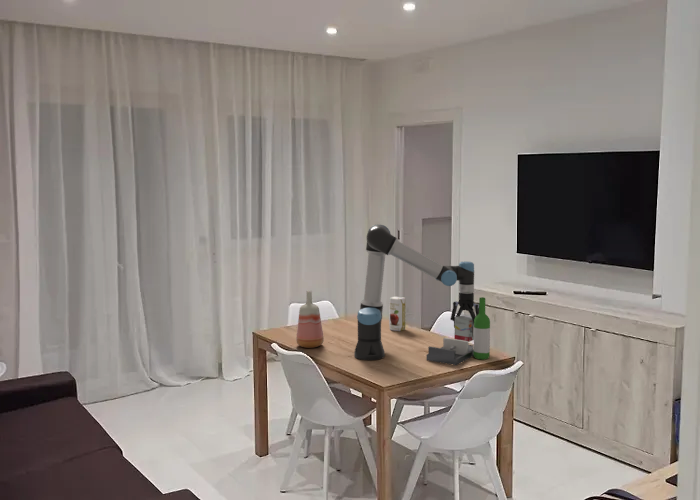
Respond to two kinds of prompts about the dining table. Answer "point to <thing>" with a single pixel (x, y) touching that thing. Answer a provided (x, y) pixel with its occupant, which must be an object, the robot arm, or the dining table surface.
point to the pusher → (456, 345)
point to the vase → (309, 325)
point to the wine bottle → (481, 333)
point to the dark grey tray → (448, 355)
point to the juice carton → (397, 313)
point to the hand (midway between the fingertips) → (465, 335)
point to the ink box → (464, 328)
